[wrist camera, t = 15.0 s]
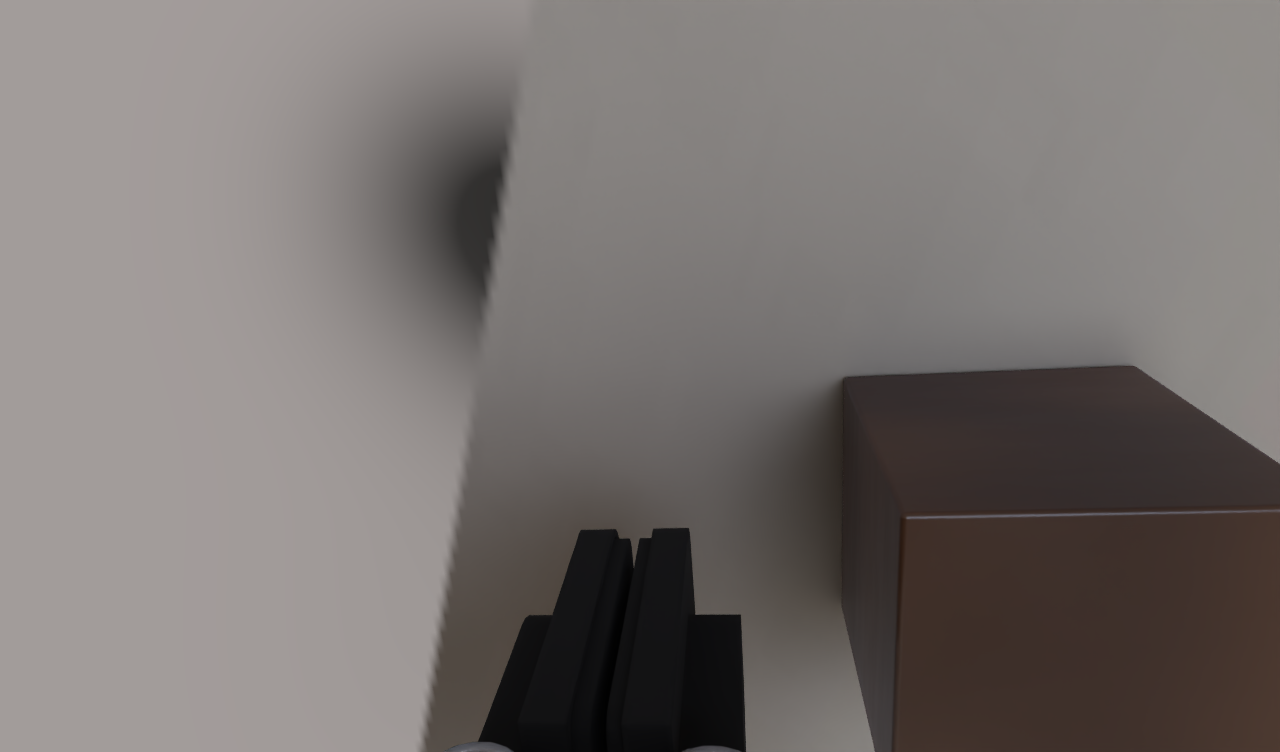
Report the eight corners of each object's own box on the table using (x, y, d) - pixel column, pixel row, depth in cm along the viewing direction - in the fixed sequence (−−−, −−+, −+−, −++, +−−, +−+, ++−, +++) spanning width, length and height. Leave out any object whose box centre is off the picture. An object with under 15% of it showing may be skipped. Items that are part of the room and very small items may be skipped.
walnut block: (841, 606, 16) (889, 819, 11) (843, 376, 14) (901, 514, 10) (1102, 605, 15) (1266, 829, 11) (1135, 364, 14) (1347, 505, 9)
